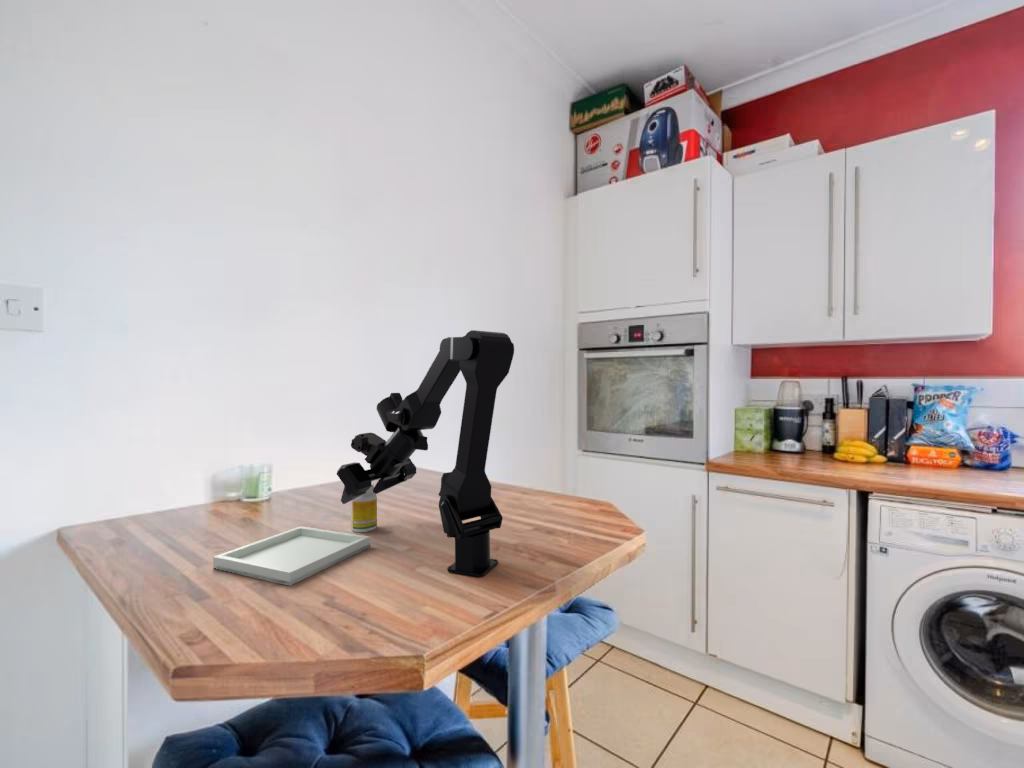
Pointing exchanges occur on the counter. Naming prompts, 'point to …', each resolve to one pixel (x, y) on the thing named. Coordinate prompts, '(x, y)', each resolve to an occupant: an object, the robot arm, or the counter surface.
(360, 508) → the supplement bottle
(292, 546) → the tray
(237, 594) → the counter surface
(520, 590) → the counter surface
